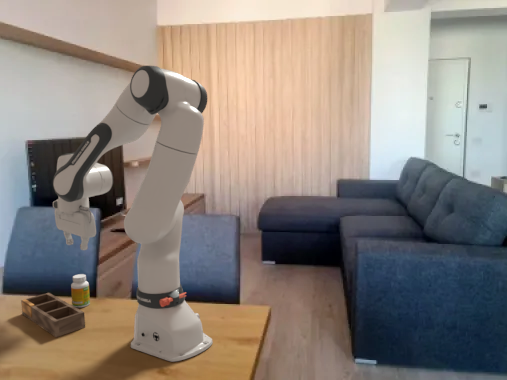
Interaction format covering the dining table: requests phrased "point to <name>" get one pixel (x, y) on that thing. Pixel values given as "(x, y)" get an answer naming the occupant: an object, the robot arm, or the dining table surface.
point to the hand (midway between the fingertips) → (76, 247)
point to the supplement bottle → (80, 291)
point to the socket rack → (53, 314)
